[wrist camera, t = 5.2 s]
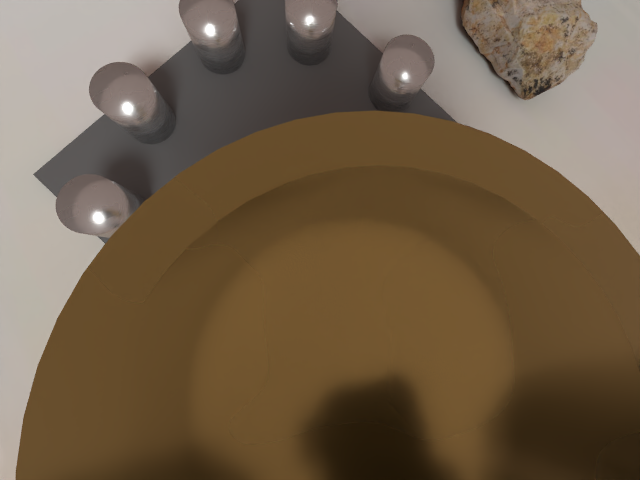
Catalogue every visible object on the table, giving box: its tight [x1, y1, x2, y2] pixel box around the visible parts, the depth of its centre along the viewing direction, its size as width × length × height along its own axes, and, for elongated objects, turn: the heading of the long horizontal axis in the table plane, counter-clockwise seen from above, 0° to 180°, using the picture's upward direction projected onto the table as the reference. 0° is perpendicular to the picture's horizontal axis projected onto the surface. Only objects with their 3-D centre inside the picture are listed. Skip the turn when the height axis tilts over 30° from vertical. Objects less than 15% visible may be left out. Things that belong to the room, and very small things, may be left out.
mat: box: [33, 0, 457, 244], centre depth 23 cm, size 24×26×1 cm
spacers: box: [56, 0, 472, 238], centre depth 21 cm, size 16×28×4 cm, turn 100°
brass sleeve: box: [16, 111, 640, 480], centre depth 9 cm, size 5×5×13 cm
